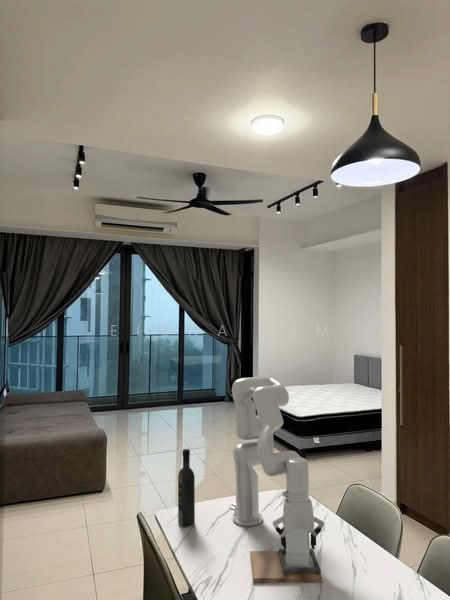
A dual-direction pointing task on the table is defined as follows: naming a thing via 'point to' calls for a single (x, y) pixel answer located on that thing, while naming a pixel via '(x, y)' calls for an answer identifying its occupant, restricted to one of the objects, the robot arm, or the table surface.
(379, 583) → the table surface
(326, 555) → the table surface
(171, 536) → the table surface
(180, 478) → the wine bottle
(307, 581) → the board
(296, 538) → the supplement box
